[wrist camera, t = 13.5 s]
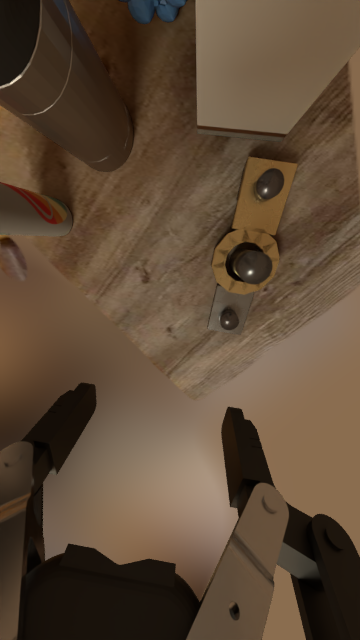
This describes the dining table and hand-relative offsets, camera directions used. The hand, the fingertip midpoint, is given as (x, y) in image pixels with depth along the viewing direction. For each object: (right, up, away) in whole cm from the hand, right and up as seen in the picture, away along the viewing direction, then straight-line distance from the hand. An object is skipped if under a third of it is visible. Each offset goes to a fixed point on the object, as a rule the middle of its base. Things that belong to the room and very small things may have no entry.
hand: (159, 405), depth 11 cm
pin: (+12, +15, +21) cm, 28 cm away
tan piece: (+12, +15, +21) cm, 28 cm away
